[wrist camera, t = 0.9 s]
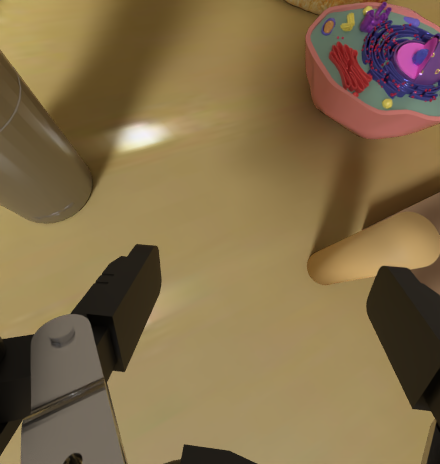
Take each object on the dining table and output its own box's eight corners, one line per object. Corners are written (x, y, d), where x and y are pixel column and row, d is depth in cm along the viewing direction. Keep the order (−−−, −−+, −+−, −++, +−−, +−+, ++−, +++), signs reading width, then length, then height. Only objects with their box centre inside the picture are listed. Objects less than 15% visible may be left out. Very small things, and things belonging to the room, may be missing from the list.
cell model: (306, 39, 42) (345, -54, 31) (429, 91, 42) (512, 15, 31) (267, 124, 37) (296, 48, 27) (404, 184, 37) (492, 131, 26)
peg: (300, 259, 33) (375, 224, 19) (328, 245, 33) (418, 203, 20) (317, 290, 32) (407, 277, 18) (346, 276, 33) (452, 252, 19)
